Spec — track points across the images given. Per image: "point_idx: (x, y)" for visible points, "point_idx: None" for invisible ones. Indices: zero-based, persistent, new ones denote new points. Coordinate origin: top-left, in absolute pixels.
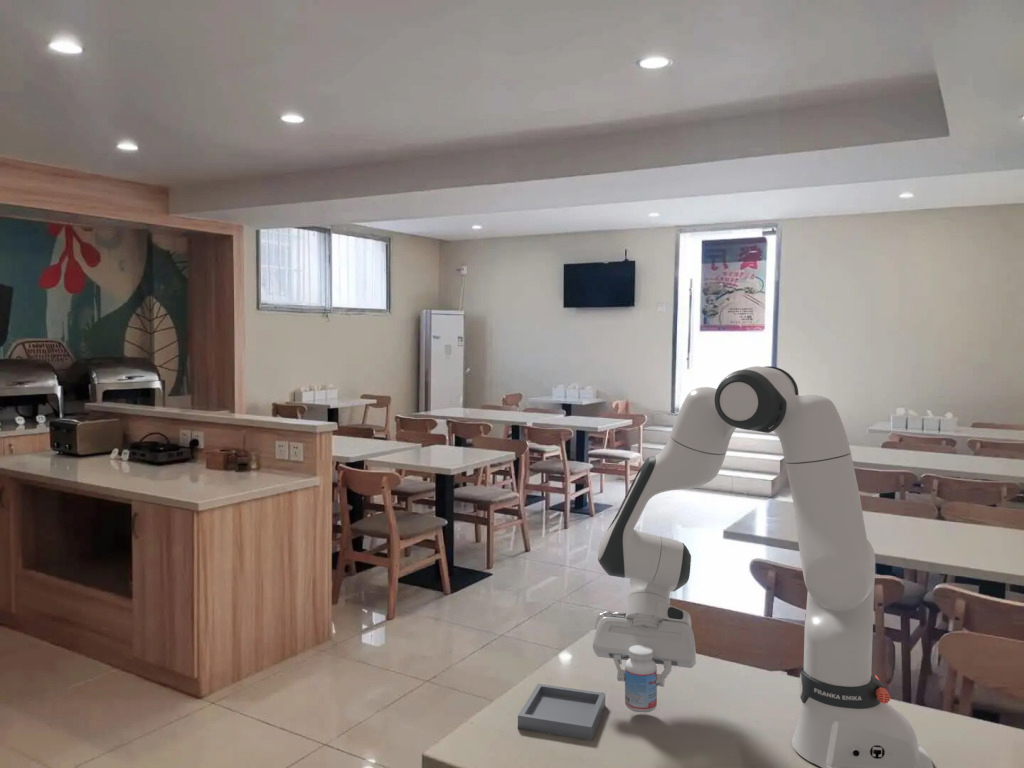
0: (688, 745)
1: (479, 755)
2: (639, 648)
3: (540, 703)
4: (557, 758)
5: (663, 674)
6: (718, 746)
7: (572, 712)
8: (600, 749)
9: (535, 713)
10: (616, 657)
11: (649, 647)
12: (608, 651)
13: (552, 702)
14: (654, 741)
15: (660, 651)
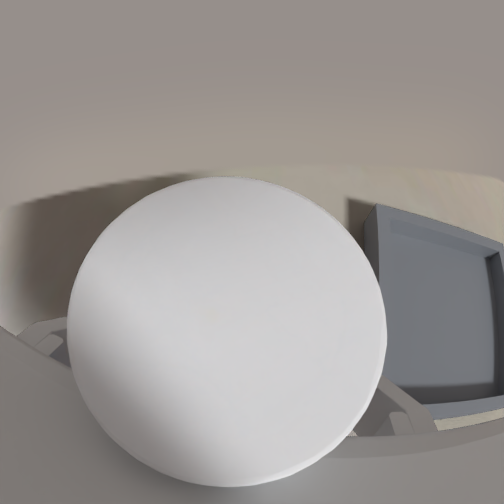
0: None
1: (483, 183)
2: (239, 358)
3: (492, 345)
4: (400, 169)
5: None
6: (73, 228)
7: (432, 319)
8: (337, 193)
9: (487, 295)
10: (418, 423)
11: (87, 390)
12: (483, 423)
13: (476, 359)
14: None
15: (19, 380)
